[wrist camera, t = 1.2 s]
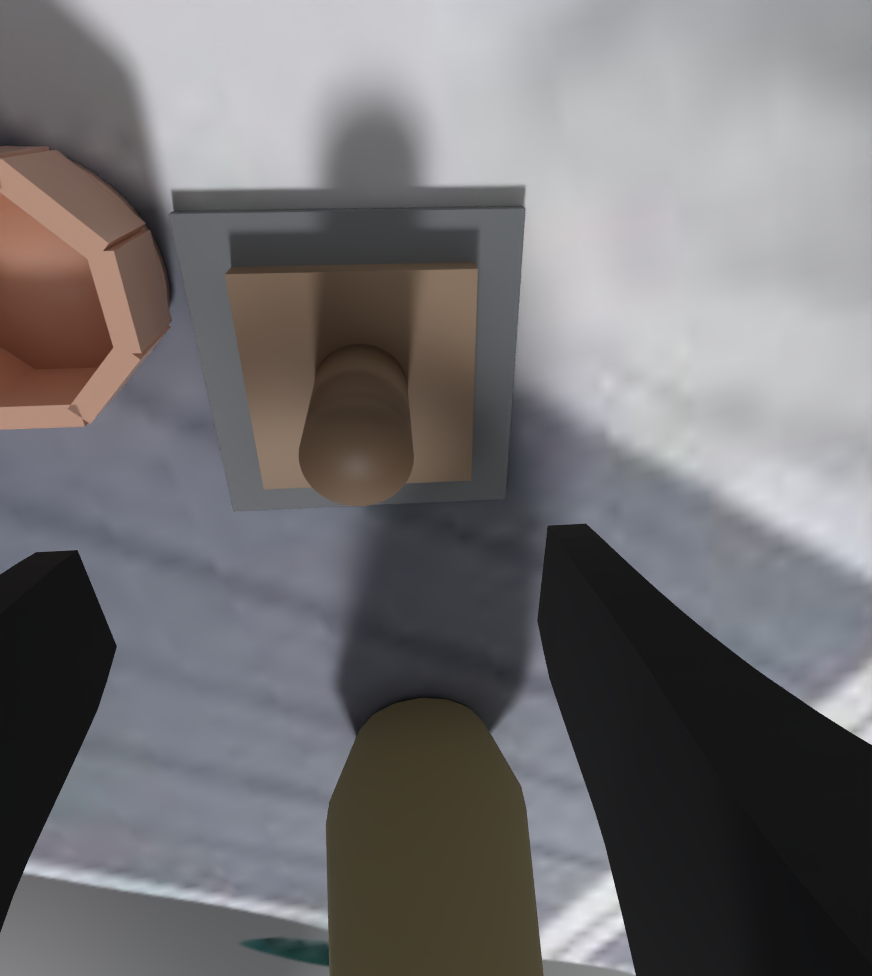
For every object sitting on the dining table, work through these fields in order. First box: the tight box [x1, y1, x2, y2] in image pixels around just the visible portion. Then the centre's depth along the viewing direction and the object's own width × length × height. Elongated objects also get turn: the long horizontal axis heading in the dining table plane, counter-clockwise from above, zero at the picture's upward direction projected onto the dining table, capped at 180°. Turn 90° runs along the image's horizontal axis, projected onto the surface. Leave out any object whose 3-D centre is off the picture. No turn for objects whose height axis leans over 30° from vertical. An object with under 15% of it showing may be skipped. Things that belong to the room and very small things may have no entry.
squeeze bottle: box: [326, 698, 543, 976], centre depth 20 cm, size 8×8×18 cm
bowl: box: [0, 145, 172, 430], centre depth 15 cm, size 6×6×3 cm
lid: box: [225, 262, 478, 506], centre depth 16 cm, size 6×6×5 cm
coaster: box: [169, 206, 525, 511], centre depth 18 cm, size 9×9×1 cm
